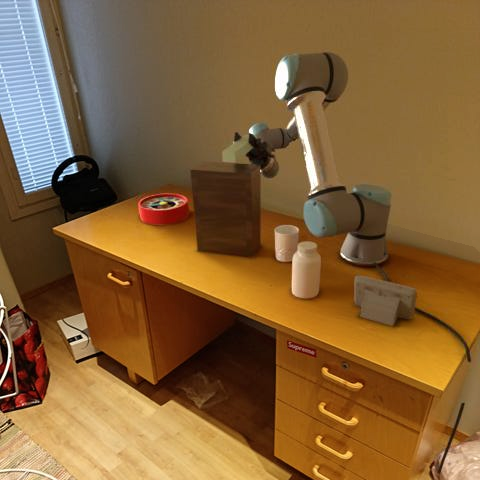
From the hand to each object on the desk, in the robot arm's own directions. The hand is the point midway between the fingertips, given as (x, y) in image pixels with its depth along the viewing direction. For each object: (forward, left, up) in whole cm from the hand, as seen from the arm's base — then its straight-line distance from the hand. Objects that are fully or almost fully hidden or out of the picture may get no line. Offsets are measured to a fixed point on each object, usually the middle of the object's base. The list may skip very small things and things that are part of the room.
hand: (242, 137), depth 140 cm
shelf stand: (-3, +6, -36) cm, 37 cm away
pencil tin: (-2, +1, -4) cm, 5 cm away
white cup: (-15, -11, -36) cm, 41 cm away
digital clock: (-54, -26, -36) cm, 70 cm away
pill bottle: (-38, -10, -36) cm, 53 cm away
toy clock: (+35, +26, -36) cm, 57 cm away
